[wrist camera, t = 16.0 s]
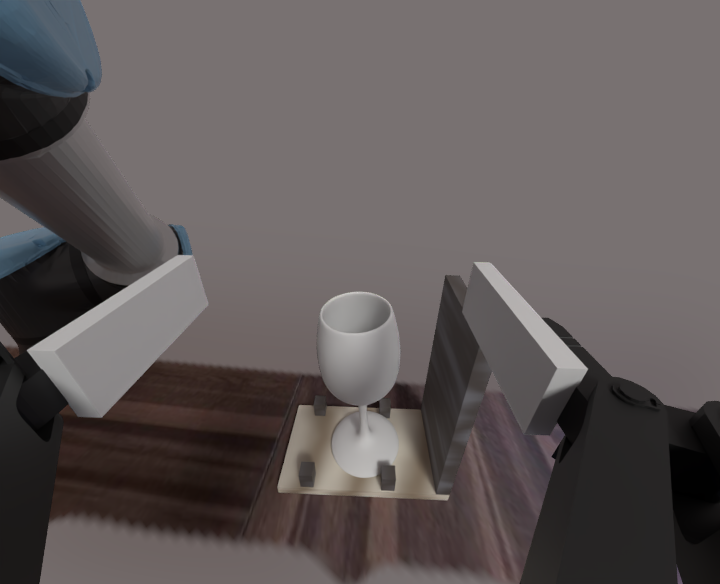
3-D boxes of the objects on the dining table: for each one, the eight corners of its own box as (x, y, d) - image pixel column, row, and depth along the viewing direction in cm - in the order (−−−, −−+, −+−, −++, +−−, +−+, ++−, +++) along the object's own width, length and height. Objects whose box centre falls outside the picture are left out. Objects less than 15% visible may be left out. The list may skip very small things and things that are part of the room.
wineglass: (410, 431, 37) (421, 300, 26) (376, 495, 31) (371, 359, 20) (356, 401, 41) (345, 278, 30) (317, 452, 35) (286, 321, 24)
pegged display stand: (278, 492, 32) (236, 335, 21) (299, 410, 42) (279, 271, 30) (447, 500, 32) (501, 343, 20) (429, 415, 41) (459, 275, 30)
